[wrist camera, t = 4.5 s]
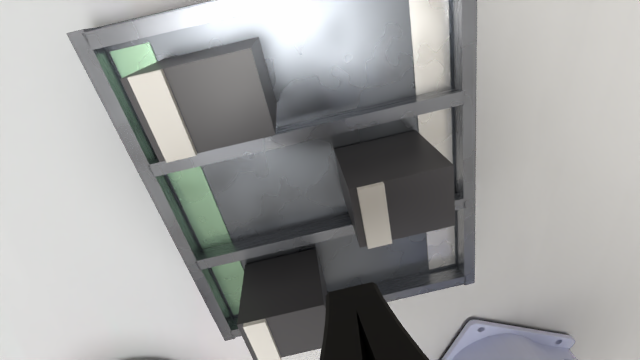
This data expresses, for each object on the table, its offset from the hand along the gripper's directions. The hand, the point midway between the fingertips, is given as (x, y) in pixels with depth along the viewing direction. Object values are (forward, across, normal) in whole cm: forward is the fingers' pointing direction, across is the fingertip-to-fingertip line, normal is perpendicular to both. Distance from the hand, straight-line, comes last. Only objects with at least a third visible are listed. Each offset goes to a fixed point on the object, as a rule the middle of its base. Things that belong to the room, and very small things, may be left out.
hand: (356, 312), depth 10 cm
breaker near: (+8, +3, -5) cm, 10 cm away
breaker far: (+8, +3, +6) cm, 10 cm away
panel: (+9, 0, 0) cm, 9 cm away
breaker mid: (+8, -3, 0) cm, 9 cm away
